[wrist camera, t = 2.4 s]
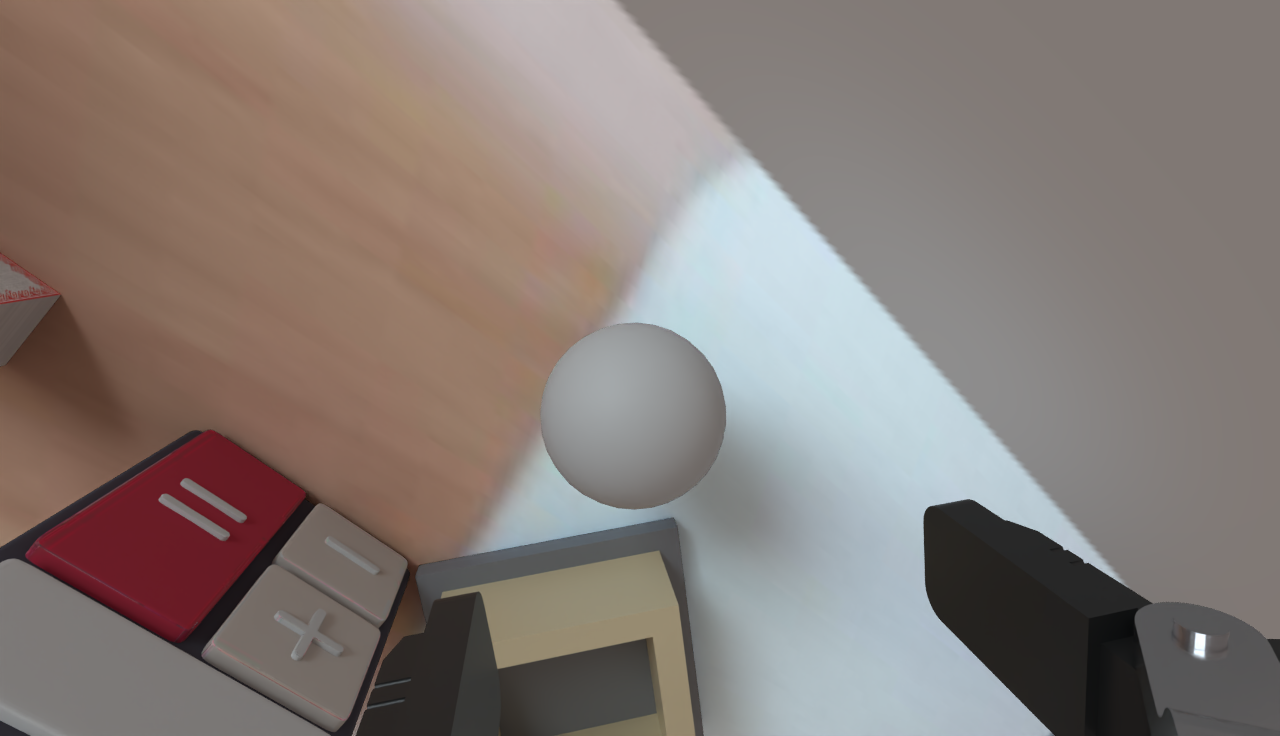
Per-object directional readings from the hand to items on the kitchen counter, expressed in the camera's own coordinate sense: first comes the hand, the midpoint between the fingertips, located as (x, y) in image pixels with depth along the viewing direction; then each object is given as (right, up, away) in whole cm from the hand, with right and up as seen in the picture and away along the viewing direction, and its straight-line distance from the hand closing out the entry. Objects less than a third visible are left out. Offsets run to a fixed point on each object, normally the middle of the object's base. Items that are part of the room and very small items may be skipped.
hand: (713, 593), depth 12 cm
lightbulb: (-3, +4, +18) cm, 19 cm away
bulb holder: (-5, -10, +21) cm, 24 cm away
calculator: (-17, -3, +18) cm, 25 cm away
